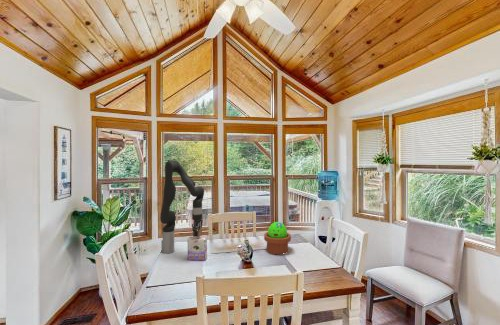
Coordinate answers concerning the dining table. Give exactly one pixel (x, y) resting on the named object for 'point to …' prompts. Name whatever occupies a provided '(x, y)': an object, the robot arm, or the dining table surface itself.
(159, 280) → the dining table surface
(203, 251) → the candy box
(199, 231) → the walnut cube
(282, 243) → the potted cactus
